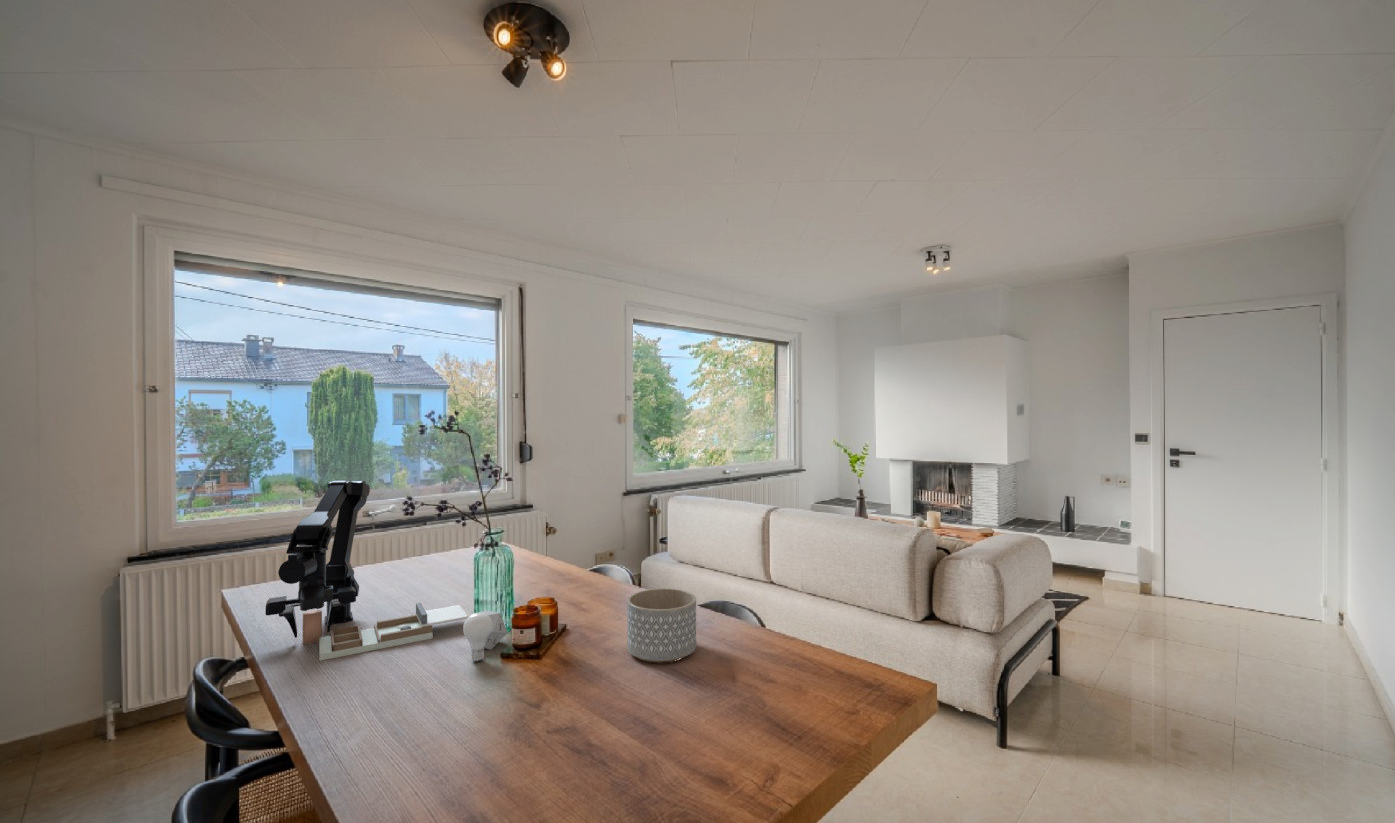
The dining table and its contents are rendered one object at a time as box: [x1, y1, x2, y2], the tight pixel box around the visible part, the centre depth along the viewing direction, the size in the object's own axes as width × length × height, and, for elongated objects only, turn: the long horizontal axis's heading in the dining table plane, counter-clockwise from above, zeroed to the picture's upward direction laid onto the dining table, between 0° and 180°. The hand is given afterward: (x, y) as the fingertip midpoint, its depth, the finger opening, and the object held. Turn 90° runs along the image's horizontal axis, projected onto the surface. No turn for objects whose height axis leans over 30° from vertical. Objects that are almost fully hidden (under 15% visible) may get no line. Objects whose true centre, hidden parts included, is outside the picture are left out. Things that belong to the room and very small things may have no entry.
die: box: [480, 609, 509, 651], centre depth 141 cm, size 8×9×10 cm
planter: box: [626, 588, 697, 663], centre depth 137 cm, size 16×16×13 cm
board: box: [318, 614, 434, 662], centre depth 144 cm, size 12×24×3 cm, turn 123°
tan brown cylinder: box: [302, 609, 323, 645], centre depth 144 cm, size 4×4×7 cm
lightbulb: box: [462, 611, 493, 663], centre depth 132 cm, size 6×6×11 cm
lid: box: [415, 602, 469, 627], centre depth 152 cm, size 11×11×3 cm
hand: (312, 634), depth 144 cm, fingers open, 6 cm apart
